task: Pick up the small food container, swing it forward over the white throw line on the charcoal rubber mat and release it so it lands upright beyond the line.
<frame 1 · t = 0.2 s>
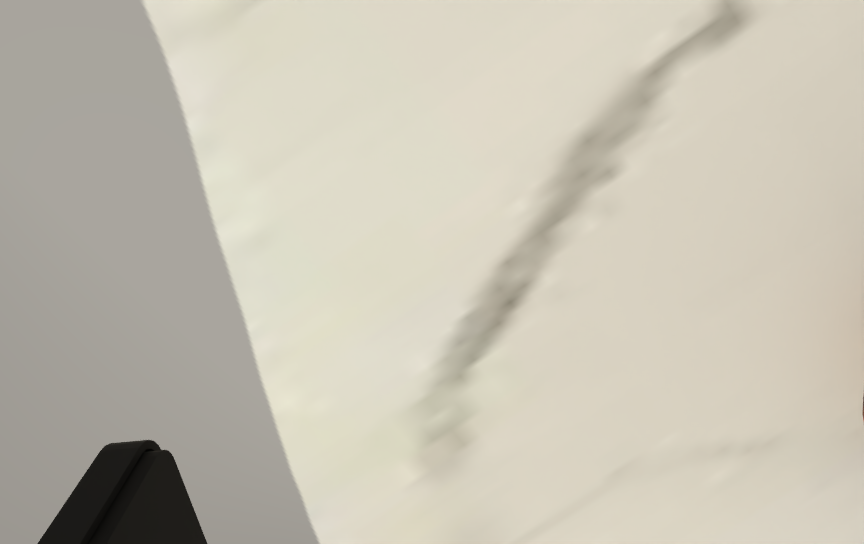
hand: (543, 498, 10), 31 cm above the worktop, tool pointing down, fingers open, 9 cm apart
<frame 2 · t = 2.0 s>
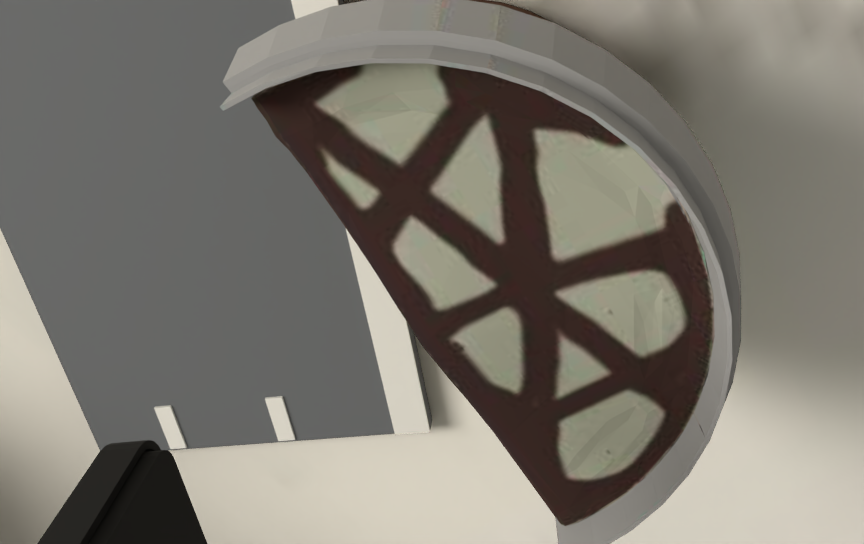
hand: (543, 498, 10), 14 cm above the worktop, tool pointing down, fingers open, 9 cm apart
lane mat: (188, 198, 25), on the worktop
food container: (548, 115, 23), on the worktop
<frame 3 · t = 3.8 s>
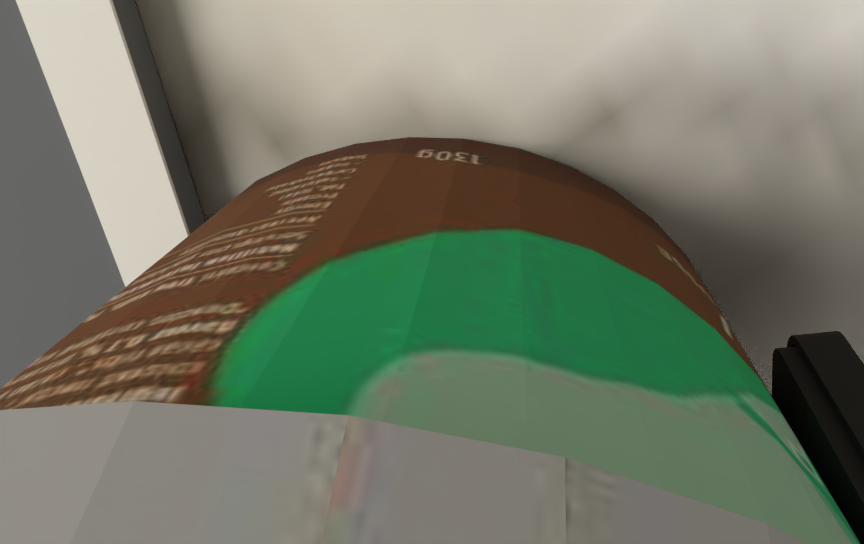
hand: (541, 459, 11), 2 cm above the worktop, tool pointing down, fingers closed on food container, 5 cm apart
food container: (590, 335, 13), on the worktop, touching gripper
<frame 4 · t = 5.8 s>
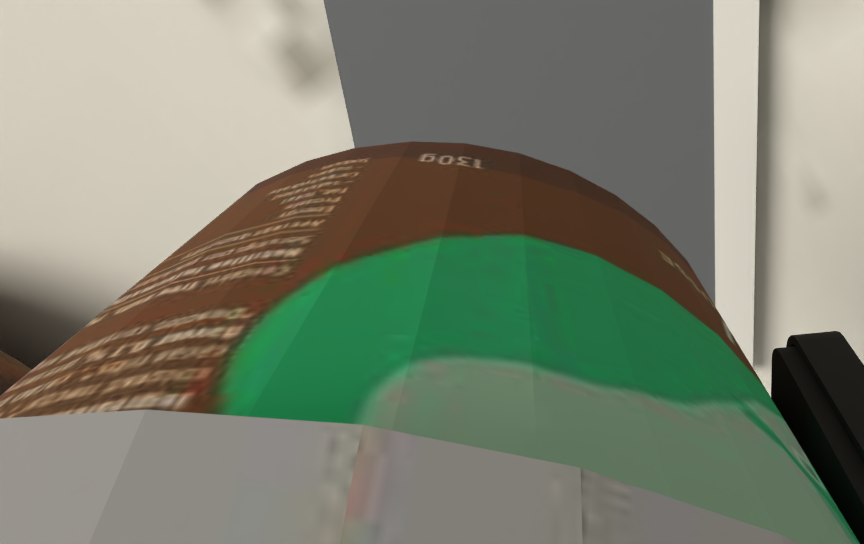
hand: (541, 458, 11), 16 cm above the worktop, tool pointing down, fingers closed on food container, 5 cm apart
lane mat: (549, 131, 25), on the worktop
food container: (590, 340, 13), point 14 cm above the worktop, touching gripper
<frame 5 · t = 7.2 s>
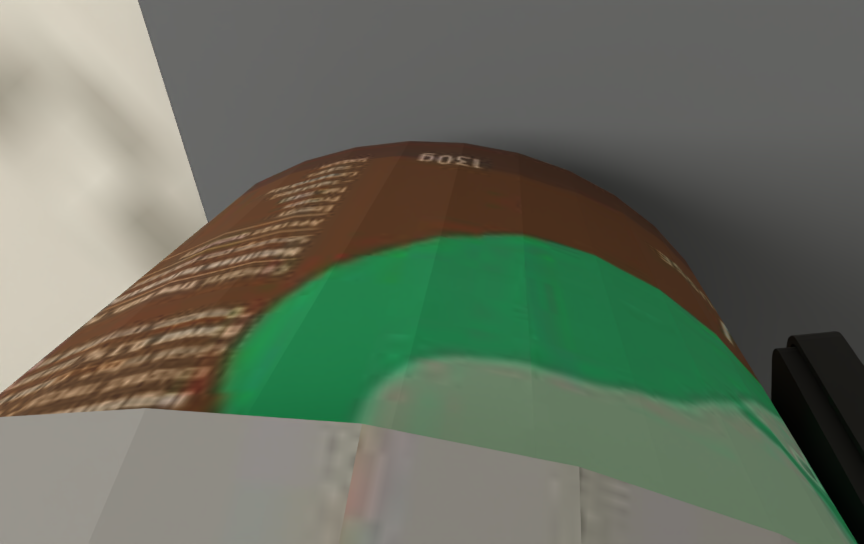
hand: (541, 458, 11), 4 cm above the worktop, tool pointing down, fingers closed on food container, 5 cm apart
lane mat: (587, 348, 15), on the worktop
food container: (588, 340, 13), point 2 cm above the worktop, touching gripper
when the fingers open (4 cm above the worktop, at t = 8.0 s): food container moves 1 cm, resting on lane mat.
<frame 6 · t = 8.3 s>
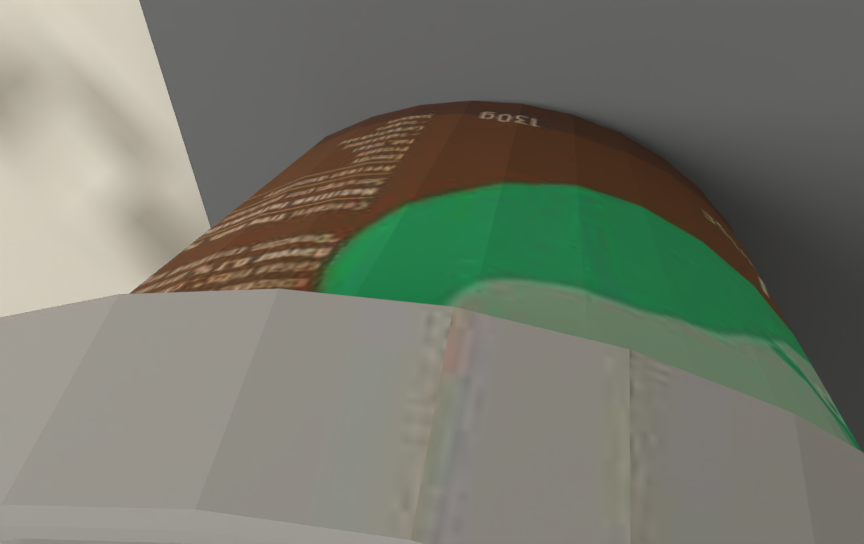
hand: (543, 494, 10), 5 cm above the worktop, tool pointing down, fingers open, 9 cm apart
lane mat: (590, 348, 15), on the worktop
food container: (631, 296, 13), point 1 cm above the worktop, touching gripper, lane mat
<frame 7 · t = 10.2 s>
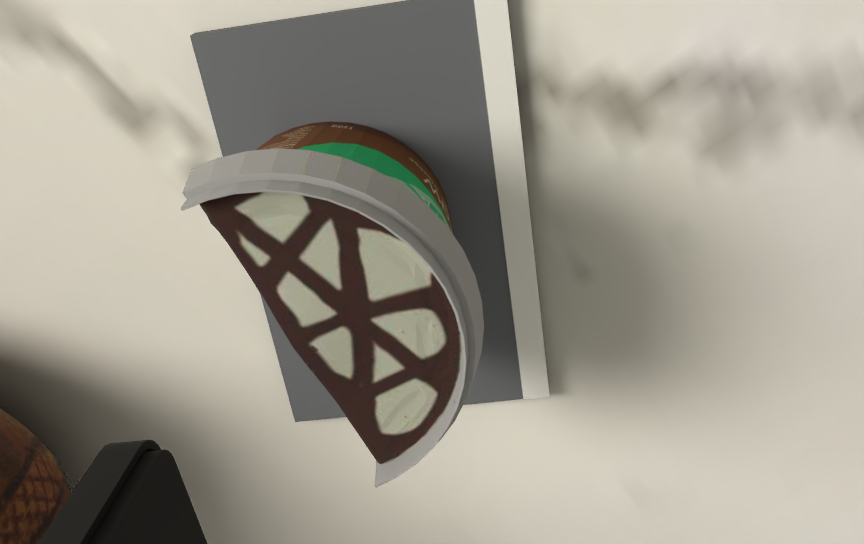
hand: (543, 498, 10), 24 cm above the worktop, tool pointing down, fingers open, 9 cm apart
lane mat: (388, 227, 35), on the worktop
food container: (398, 199, 34), resting on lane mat
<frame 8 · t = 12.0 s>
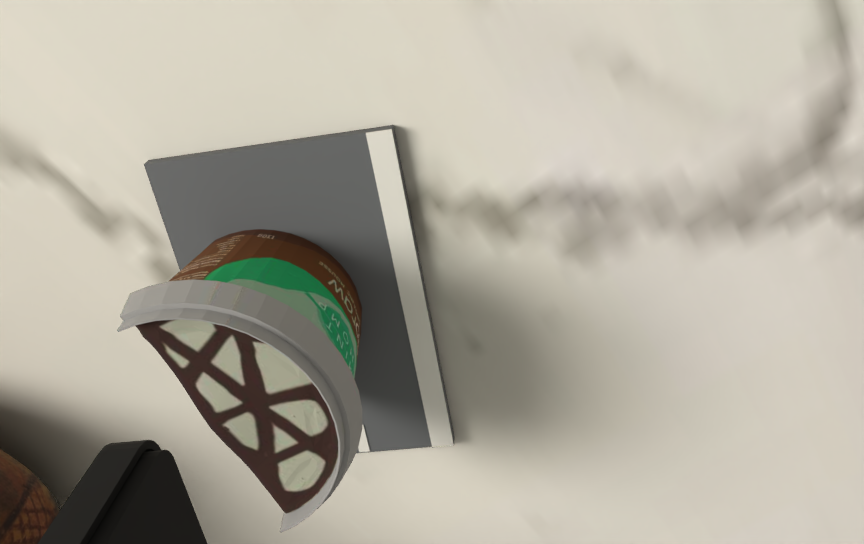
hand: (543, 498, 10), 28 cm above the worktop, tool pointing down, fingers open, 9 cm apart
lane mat: (312, 309, 42), on the worktop
food container: (318, 288, 41), resting on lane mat
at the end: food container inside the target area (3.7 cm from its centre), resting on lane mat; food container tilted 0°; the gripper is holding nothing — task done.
